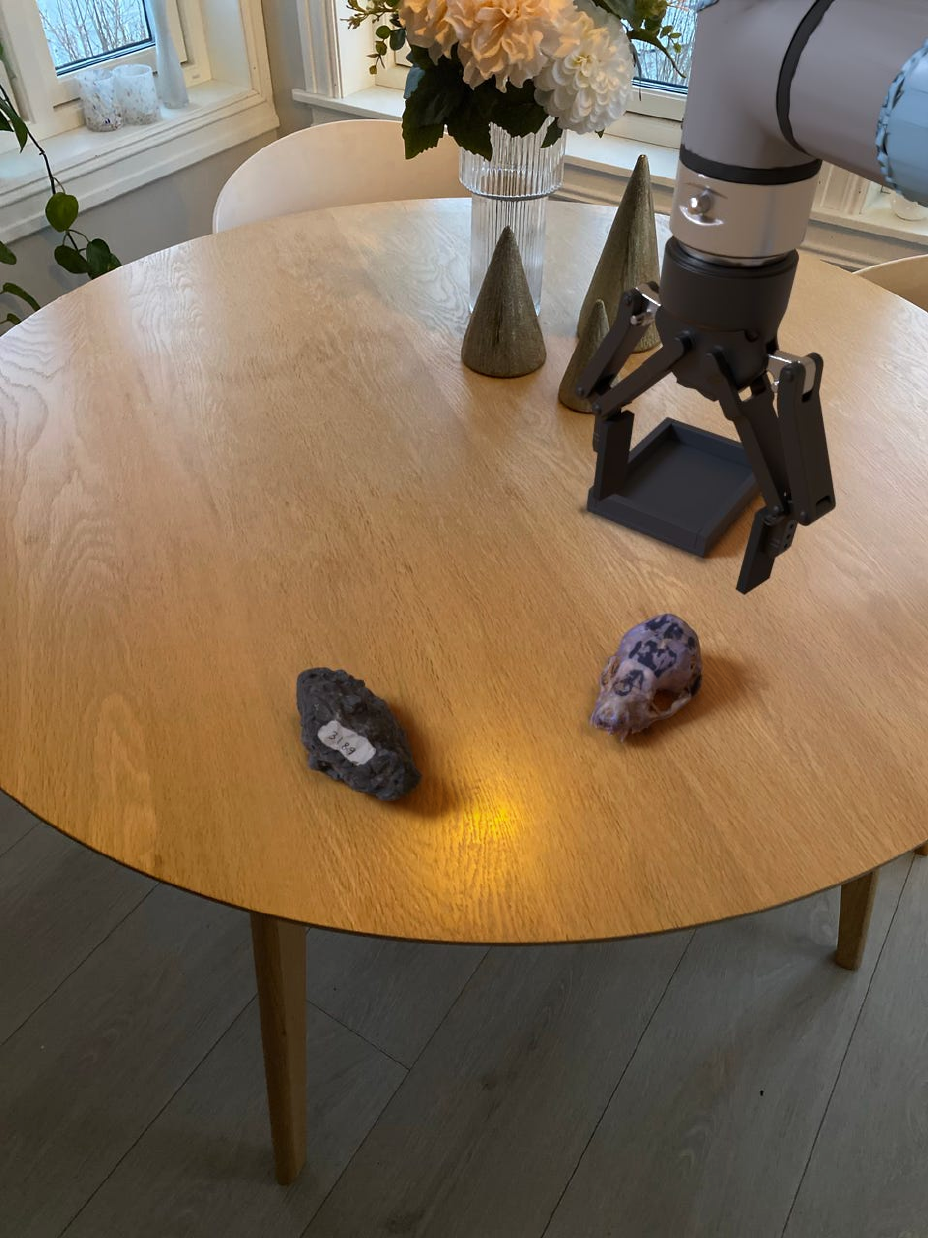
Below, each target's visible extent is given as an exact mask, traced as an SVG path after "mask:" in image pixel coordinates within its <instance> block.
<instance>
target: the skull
mask: <svg viewBox="0 0 928 1238" xmlns="http://www.w3.org/2000/svg"><path fill="white" fill-rule="evenodd" d="M699 640H700V639H699V635H698V634H697V632H696V631H695V630H694V629H693V628H692V627H691V626H690V625H689V623H688V622H687V621H686V620H684V619H683V618H682V617H679V616H677V615H676V614H673V613H669V612H667V613H663V614H658V615H656V616H653V617H651V618H648V619H645V620H643V621H641V622H639V623H637V624H636V625H634V626H633V627H631V628H630V629H628V630H627V631H626V632H625V633H624V635H622V637H621V639H620V641H619V644H618V647H617V651H616V652H615V653H614V654H613V655H612V656H611V655H610V656H609V657H607V658H606V664H605V666H604V668H603V669H602V670H601V672H600V673H599V674H598V687H599V691H600V692H598V693H597V699H596V700H595V706H594V709H593V712H592V714H591V716H590V718H589V719H590V720H589V724H590V725H591V726H593V725H594V726H595V729H598V726H599V728H600V729H602V730H604V731H605V732H608V733H607V736H611V735H612V736H613V737H614V736H615V735H617V733H619V732H620V733H621V734H620V743H622V742H624V741H625V738H626V737H627V735H628V733H629V731H630V729H631V735H633V734H635V733H641V732H642V731H643V729H648V728H649V726H650V725H651V724H652V723H654V722H656V721H660V720H666V719H668V718H670V717H671V716H673V715H675V714H676V712H677V711H679V710H680V709H682V708H683V707H684V706H685V705H687V704H688V703H689V702H690V701H691V700H692V699H693V698H694V697H696V695H698V693H699V691H700V689H701V687H702V682H703V678H704V674H703V673H702V672H703V658H702V652H701V651H702V650H701V645H700V641H699ZM659 691H661V692H663V693H666V694H669V695H672V696H675V697H676V698H677V699H675V700H673V701H672V703H671V705H670V708H668V709H667V710H664V711H663V710H661V709H660V708H659V706H658V705H656V704H655V703H656V701H655V698H654V697H655V694H657V693H658V692H659Z"/></svg>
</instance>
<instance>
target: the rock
mask: <svg viewBox="0 0 928 1238" xmlns="http://www.w3.org/2000/svg"><path fill="white" fill-rule="evenodd" d="M295 683H296V693H295V698H296V709H297V711H298V713H299V716H300V721H299V725H300V727H301V733H300V737H301V738H300V741H301V744H302V746H303V747H304V748H305V750H306V751H307V752H308V753H309V754H308V761H307V762H306V764H307V766H308V767H309V769H310V770H313V771H318V772H320V773H322V774H324V775H326V776H328V777H330V778H332V779H333V780H334V781H337V782H342V783H345V784H346V786H348V787H349V788H351V789H352V790H353V791H355V792H356V793H366V794H369V795H375V796H376V797H377V798H378V799H379V800H380V801H397V800H399V799H400V798H401V797H403V798H407V797H409V796H410V795H411V792H412V791H413V790H414V789H416V788H417V787H418V786H419V785H420V781H421V780H422V778H423V777H424V775H423V774H422V773H421V771H420V770H419V769H418V768H417V766H416V765H415V762H414V760H413V759H412V758H413V754H412V750H411V748H410V746H409V742H408V738H407V735H408V734H407V732H406V731H405V730H404V728H403V727H404V726H403V725H401V724H400V723H399V721H398V717H397V716H396V715H395V714H394V713H393V712H392V711H391V710H390V707H389V705H388V704H387V702H386V700H385V699H382V698H381V697H380V696H377V695H376V694H375V693H374V692H373V691H372V690H371V689H370V688H369V687H367V686H366V682H365V680H364V679H361V678H360V679H358V678H355V675H352V674H350V673H347V671H346V670H345V669H343V668H340V669H337V670H332V669H330V668H329V667H326V666H325V667H312V668H307V669H306V670H302V671H301V672H300V673H299V674H298V675H297V677H296V682H295Z"/></svg>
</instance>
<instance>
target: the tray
mask: <svg viewBox="0 0 928 1238" xmlns="http://www.w3.org/2000/svg"><path fill="white" fill-rule="evenodd" d="M593 487H594V484H593V485H592V486H591V487H590V488H589V489H588V491H587V499H586V511H587V512H588V513H589V512H590V513H591V514H594V515H597V516H599V517H601V518H604V519H606V520H608V521H611V522H613V523H616V524H618V525H621V526H623V527H626V528H628V529H630V530H633V531H636V532H638V533H640V534H643V535H645V536H648V537H650V538H651V539H652V538H653V539H655V540H658V541H659V542H662V543H665V544H667V545H670V546H672V547H674V548H677V549H679V550H681V551H684V552H687V553H689V554H692V555H694V556H696V557H699V558H701V559H704V558H705V556H707V554H708V553H709V552H710V551H711V550H712V548H713V547H714V546H715V545H716V544H717V542H718V541H719V540H720V539H721V538H722V537H723V535H724V534H725V533H726V532H727V531H728V530H729V528H730V527H732V525H733V524H734V522H735V521H736V520H737V519H738V518H739V517H740V515H741V514H742V513H743V512H744V511H745V509H746V508H747V507H748V506H749V505H750V504H751V503H752V502H753V500H754V499H755V498H756V497H757V496H758V495H759V493H761V492H760V489H759V487H758V484H757V481H756V479H755V476H754V474H753V471H752V469H751V466H750V464H749V461H748V459H747V456H746V453H745V451H744V448H743V446H742V443H741V441H737V440H735V439H732V438H729V437H726V436H724V435H721V434H717V433H714V432H713V431H709V430H706V429H703V428H700V427H697V426H694V425H692V424H689V423H686V422H683V421H680V420H678V419H675V418H672V417H669V416H666V417H665V418H664V419H663V420H662V421H661V422H660V423H659V424H657V426H655V428H653V429H652V430H651V431H650V432H649V433H648V434H647V435H646V436H644V438H642V439H641V440H640V441H639V442H638V443H637V444H636V445H635V446H634V447H633V448H632V449H630V452H629V460H628V467H627V474H626V481H625V488H624V489H622V490H620V491H618V492H617V493H615V494H613V495H611V496H609V497H607V498H605V499H604V500H602V501H600V502H599V501H598V500H596V499H595V498H593V497H592V496H593Z"/></svg>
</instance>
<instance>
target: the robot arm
mask: <svg viewBox="0 0 928 1238" xmlns="http://www.w3.org/2000/svg"><path fill="white" fill-rule="evenodd" d="M695 13H696V14H697V19H696V26H695V34H694V40H693V47H692V48H693V49H692V56H691V63H690V70H689V77H688V86H687V92H686V93H687V94H686V101H685V108H684V115H683V120H682V121H683V122H682V130H681V136H680V145H679V150H678V151H679V152H678V159H677V160H678V161H677V166H676V167H677V168H676V173H675V181H674V186H673V194H672V201H671V208H670V213H669V219H668V229H669V231H670V233H671V234H672V235H671V236H670V237H669V238H668V239H667V240H666V242H665V245H664V251H663V259H662V264H661V265H662V266H661V270H660V271H661V273H660V279H659V284H658V283H657V282H656V281H655V280H650V281H647V282H644V283H641V284H639V285H636V286H633V287H631V288H628V289H627V290H624V291H623V292H622V293H621V294H620V298H619V302H618V307H617V312H616V316H615V320H614V321H613V324H612V325H611V327H610V328H609V330H608V332H607V333H606V335H605V337H604V338H603V340H602V342H601V343H600V344H599V346H598V348H597V349H596V351H595V352H594V354H593V356H592V357H591V359H590V361H589V362H588V364H587V366H586V367H585V369H584V371H583V372H582V374H581V376H580V377H579V378H578V380H577V382H576V384H575V385H574V394H575V397H577V399H578V400H581V401H584V400H586V401H587V402H588V403H589V404H590V405H591V412H592V414H593V416H594V422H593V431H592V440H591V445H592V451H593V452H595V453H596V461H595V469H594V479H593V485H594V487H593V496H592V497H593V498H595V499H596V500H598V501H599V502H600V501H602V500H604V499H605V498H607V497H609V496H611V495H613V494H615V493H617V492H618V491H620V490H622V489H624V488H625V481H626V474H627V467H628V460H629V452H630V451H631V443H632V438H633V437H632V436H633V430H634V425H635V424H634V422H635V416H636V413H634V412H633V411H631V410H629V409H625V410H623V411H622V409H623V408H625V407H626V406H629V405H631V404H633V401H634V400H636V399H637V398H639V397H640V396H641V395H643V394H644V393H646V391H648V390H649V389H651V388H652V387H653V386H655V385H656V384H657V383H659V382H661V381H662V380H664V378H666V377H667V376H669V375H670V374H671V373H672V375H673V376H674V377H675V379H676V381H675V383H676V384H678V385H680V386H682V387H684V388H687V389H692V390H695V391H697V393H699V394H700V395H701V396H702V397H704V398H705V399H707V400H709V401H710V402H713V403H715V402H717V401H718V403H719V406H720V408H721V411H722V414H723V416H724V418H725V419H726V420H727V421H730V422H732V424H733V425H734V428H735V430H736V433H737V436H738V438H739V442H741V443H742V446H743V448H744V451H745V453H746V456H747V459H748V461H749V464H750V466H751V469H752V471H753V474H754V476H755V479H756V481H757V484H758V487H759V489H760V492H759V493H760V494H761V497H762V499H763V502H764V504H765V505H764V506H763V507H760V508H759V509H758V510H756V511H755V512H754V516H753V521H752V524H751V527H750V531H749V536H748V538H747V539H748V540H747V544H746V547H745V550H744V555H743V558H742V563H741V567H740V570H739V574H738V579H737V582H736V584H735V585H736V586H735V591H737V592H738V593H741V594H742V595H743V596H745V595H748V593H750V592H751V591H753V590H754V589H756V588H757V587H759V586H760V585H762V584H764V583H765V582H766V581H768V580H770V578H771V575H772V571H773V568H774V564H775V562H776V561H775V560H776V558H778V557H779V556H781V555H783V554H784V553H785V552H787V551H788V550H789V549H790V548H791V547H792V545H793V541H794V538H795V534H796V531H797V528H798V525H800V526H803V527H808V526H810V525H812V524H813V523H815V522H817V521H818V520H820V519H821V518H823V517H824V516H826V515H828V514H829V513H830V512H833V510H835V508H836V506H837V501H836V494H835V493H836V492H835V488H834V481H833V474H832V468H831V467H832V466H831V462H830V454H829V449H828V442H827V435H826V428H825V422H824V415H823V409H822V403H821V397H820V391H821V390H820V389H821V384H822V377H823V372H824V366H825V364H824V357H822V355H821V354H820V353H818V352H816V351H815V352H813V351H812V352H809V353H808V354H805V355H804V356H799V355H796V354H793V353H789V352H787V351H783V350H780V345H779V339H778V334H779V333H778V332H779V328H780V326H781V323H782V321H783V319H784V316H785V314H786V312H787V309H788V306H789V303H790V298H791V293H792V291H793V286H794V281H795V277H796V273H797V269H798V266H799V261H800V254H799V252H798V250H797V248H799V247H800V246H801V245H802V244H803V243H804V241H805V238H806V234H807V230H808V224H809V221H810V216H811V212H812V209H813V203H814V199H815V195H816V191H817V187H818V182H819V178H820V174H821V170H822V166H823V161H824V162H826V163H828V164H830V165H833V166H835V167H838V168H840V169H842V170H844V171H847V172H849V173H851V174H854V175H856V176H859V177H861V178H862V179H866V180H867V181H871V182H873V183H875V184H877V185H880V186H882V187H884V188H886V189H889V190H891V191H894V192H895V193H896V194H898V195H900V196H902V197H903V198H904V199H905V200H906V201H909V202H911V203H917V204H918V205H919V206H922V207H923V208H926V209H927V208H928V0H699V1H698V2H697V3H696V5H695ZM652 323H654V325H655V329H656V330H657V334H658V337H659V339H660V343H661V347H660V348H659V349H657V350H656V351H655V352H654V353H652V354H651V355H650V356H649V357H647V358H646V359H644V361H642V362H641V365H640V366H638V367H637V368H636V369H634V370H633V371H632V372H631V373H629V374H628V375H627V376H626V377H624V378H622V380H620V381H619V382H618V383H616V384H615V385H614V386H613V387H612V386H611V385H612V384H613V382H614V381H615V380H616V378H617V376H618V374H619V373H620V372H621V370H622V369H623V367H625V364H626V363H627V361H628V360H629V359H630V357H631V355H632V354H633V352H634V351H635V349H636V347H637V346H638V345H639V343H640V341H641V340H642V339H643V337H644V335H645V334H646V332H647V331H648V329H649V328H650V326H651V324H652ZM768 373H769V374H770V375H771V376H772V377H773V378H772V379H773V383H772V382H771V380H770V378H769V375H768ZM748 388H749V389H750V393H751V394H750V396H749V397H747V398H745V399H743V400H742V399H741V397H740V394H741V393H742V392H744V391H746V389H748ZM775 398H776V409H775V407H774V406H775V405H774V401H775Z"/></svg>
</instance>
